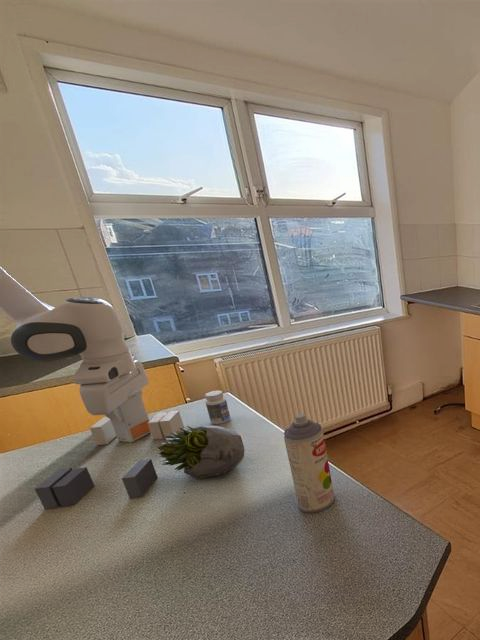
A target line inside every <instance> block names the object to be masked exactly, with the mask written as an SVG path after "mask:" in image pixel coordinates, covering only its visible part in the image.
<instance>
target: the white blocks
mask: <svg viewBox="0 0 480 640" xmlns="http://www.w3.org/2000/svg"><path fill="white" fill-rule="evenodd" d="M147 424H148V427H149V430H150V432H151V433H150V436H151V438H152V440H153V441H154V440H155V441H156V440H163V439H168V438H167V437H166V436H168V435H170V436H171V435H172V434H171V433H173V434H177V433H176V432H177V431H182V430H181V429H180V428H182V429H184V428H185V425H184V423H183V419H182V415H181V413H180V410H171V411H163V412H162V411H161V412H157V413H156V414H155V415H154V416H153V417H152V418H151V419H149V422H148V423H147ZM179 427H180V428H179ZM89 429H90V432H91V434H92V438H93V439H94V442H95V444H96V446H104V445H108V444H109V443H111V441H113V440H114V439H115V438H117V436H116V433H115V431H114V428H113V425H112V423H111V420H110V419H109V418H108V417H106V416H104V417H102V418H100V419H99V420H98V421H96V422H95V423H94V424H92V425H91V426H90V427H89ZM177 435H178V434H177Z"/></svg>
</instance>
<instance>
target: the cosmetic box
mask: <svg viewBox="0 0 480 640" xmlns="http://www.w3.org/2000/svg"><path fill="white" fill-rule="evenodd" d="M117 410H118V411H117V412H116V413H117V414H118V415H119V416H122V417H123V420H124V421H123V422H122V423H121V424H120V425H113V424H112V425H113V428H114V431H115V433H116V438H117V441H118V442H126V443H133V442H135V441H137V440H139V439H141V438H143V437H145V436H146V435H149V434H151V432H150V430H149V427H148V424H147V423H148V422H149V421H150V419H149V416H148V412H147V409H146V406H145V403H144V399H143V396H142V397H141V394H140V391H133V392H132V393H130V394H129V395H128V399H127V401H125V402H124V403H123V404H121V405H120V406H119V407H117Z"/></svg>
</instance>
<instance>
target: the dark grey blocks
mask: <svg viewBox="0 0 480 640" xmlns="http://www.w3.org/2000/svg"><path fill="white" fill-rule="evenodd" d="M158 477H159V476H158V474H157V471H156V469H155V465H154V462H153V461H152V458H146V459H139V460H138V461H137V462H136V463H135V464H134V465H133V466H132V467H131V468H130V469H129V470H128V471H127V472H126V473H125V474H124V475H123V477H122V478H121V480H122V483H123V485H124V488H125V490H126V493H127V496H128V498H129V499H136V498H137V499H138V498H143V496H144V495H145V494H146V493H147V492H148V491H149V490H150V488H151V487H152V486H153V485H154V483H155V482H156V481H157V480H158V479H159V478H158ZM94 487H95V483H94V481H93V479H92V476H91V474H90V472H89V469H88V467H87V466H84V467H75V468H72V467H64V468H58V469H57V470H55V471H54V472H53V473H52V474H51V475H50V476H48V477H47V478H46V479H44V480H43V481H42V482H41V483H40V484H38V485H37V486H36V487H35V488H34V490H35V491H34V492H35V493H36V494H37V495H36V496H37V497H38V498H39V501H40V502H41V505H42V507H43V509H44V510H52V509H58V508H59V507H61V508H64V507H71V506H75V505H76V504H78V502H80V500H81V499H83V498H84V497H85V496H86V494H88V493H89V492H90V491H91V490H92V489H93V488H94Z"/></svg>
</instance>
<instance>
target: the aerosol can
mask: <svg viewBox="0 0 480 640" xmlns="http://www.w3.org/2000/svg"><path fill="white" fill-rule="evenodd" d="M294 419H295V420H294V421H293V422H292V423H291V424H290V425H289V427H286V429H285V430H284V432H283V440H284V445H285V449H286V454H287V459H288V462H289V468H290V472H291V478H292V482H293V486H294V487H293V488H294V492H295V496H296V500H297V505H298V509H299V510H300V511H301V512H302V513H305V514H316V513H321V512H322V511H325V510H327V509H329V508H330V507H332V505H333V504H334V502H335V499H336V498H335V493H334V488H333V487H334V486H333V482H332V481H333V480H332V474H331V469H330V464H329V457H328V453H327V452H328V451H327V446H326V440H325V435H324V431H323V429H322V425H321V424H320V423H318V422H315V421H313V420H311V419H309V418H307V417H306V414H305V413H298V414H296V415H295V416H294Z"/></svg>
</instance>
